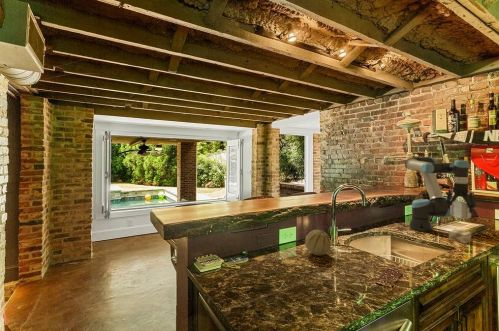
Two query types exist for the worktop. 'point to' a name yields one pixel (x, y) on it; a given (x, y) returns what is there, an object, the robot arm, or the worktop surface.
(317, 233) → the cantaloupe
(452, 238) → the pedestal block
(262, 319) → the worktop surface
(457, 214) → the small box
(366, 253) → the worktop surface
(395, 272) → the chocolate bar
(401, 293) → the worktop surface
